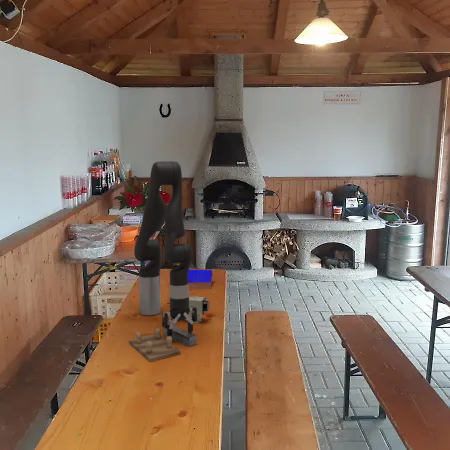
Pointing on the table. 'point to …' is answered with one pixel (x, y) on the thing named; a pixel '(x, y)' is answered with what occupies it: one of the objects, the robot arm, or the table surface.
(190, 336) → the bar
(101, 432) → the table surface
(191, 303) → the pneumatic valve
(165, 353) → the cradle
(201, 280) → the house
